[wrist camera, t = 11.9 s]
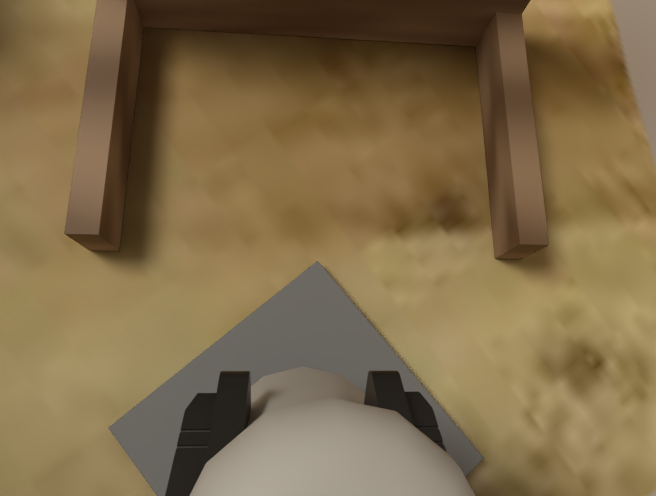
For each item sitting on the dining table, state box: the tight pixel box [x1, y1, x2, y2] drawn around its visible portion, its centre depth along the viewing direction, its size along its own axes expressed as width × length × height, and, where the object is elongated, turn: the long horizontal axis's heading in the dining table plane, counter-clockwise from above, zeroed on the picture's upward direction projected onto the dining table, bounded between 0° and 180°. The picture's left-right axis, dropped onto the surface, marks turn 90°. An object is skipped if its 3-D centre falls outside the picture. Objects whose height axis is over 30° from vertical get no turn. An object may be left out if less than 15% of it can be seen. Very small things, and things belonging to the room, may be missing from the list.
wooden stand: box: [64, 0, 549, 259], centre depth 18 cm, size 12×18×9 cm, turn 90°
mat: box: [109, 261, 483, 496], centre depth 19 cm, size 10×10×1 cm
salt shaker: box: [190, 367, 475, 496], centre depth 12 cm, size 6×6×13 cm
